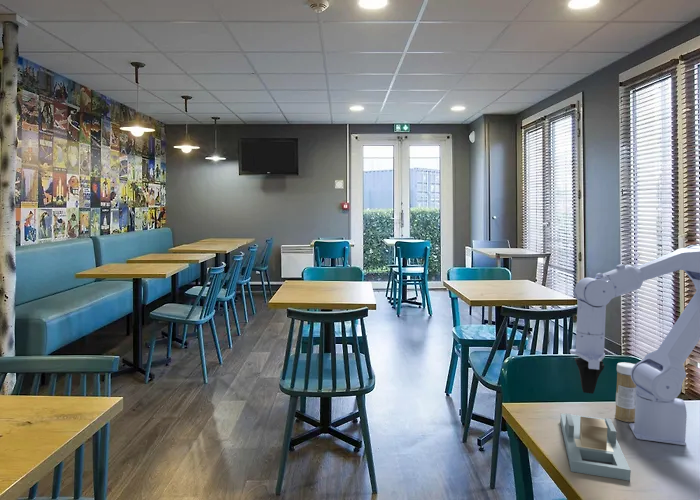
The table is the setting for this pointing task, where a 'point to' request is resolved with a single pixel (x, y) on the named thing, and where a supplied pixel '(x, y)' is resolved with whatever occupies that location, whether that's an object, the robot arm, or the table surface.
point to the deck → (594, 451)
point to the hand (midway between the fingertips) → (587, 392)
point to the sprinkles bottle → (625, 393)
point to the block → (593, 433)
